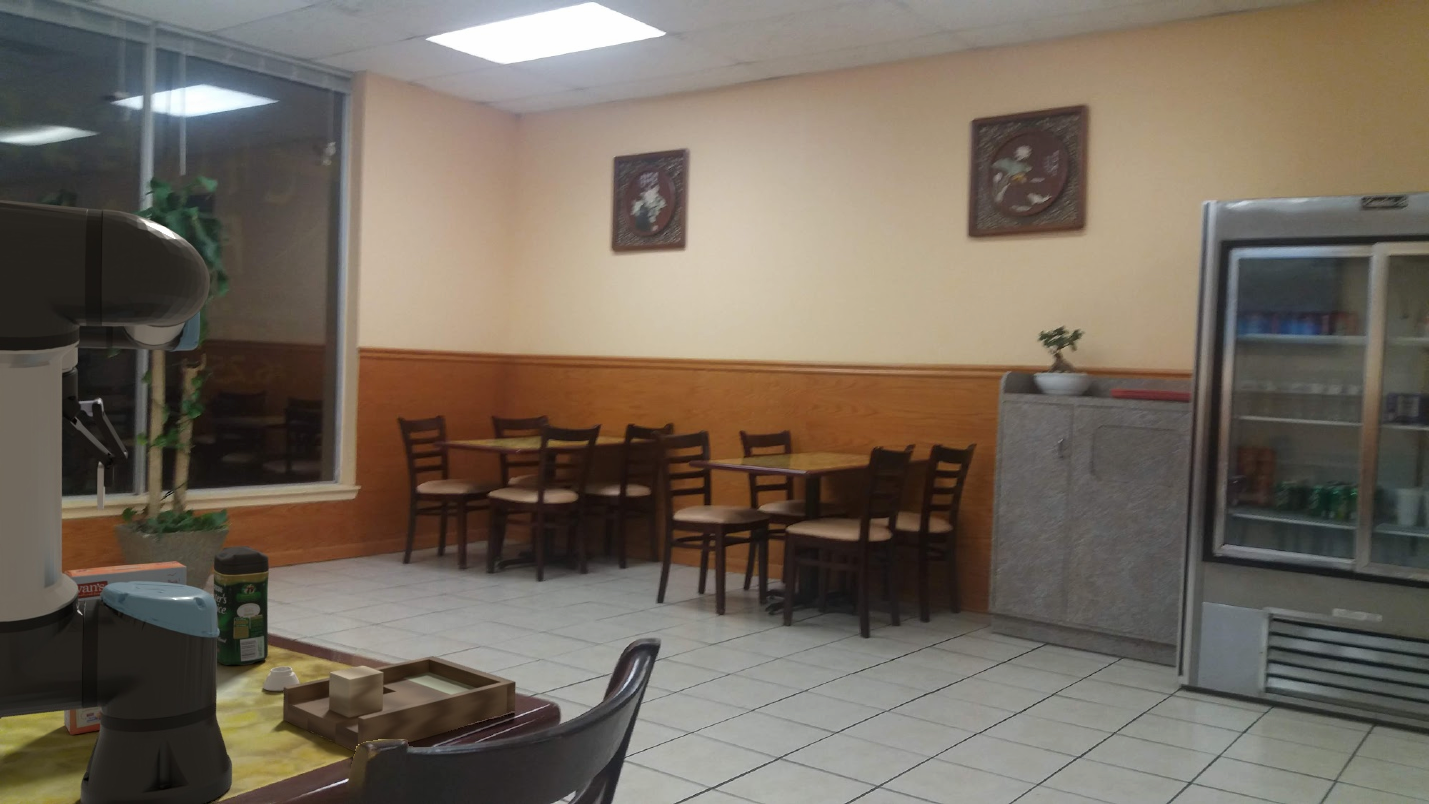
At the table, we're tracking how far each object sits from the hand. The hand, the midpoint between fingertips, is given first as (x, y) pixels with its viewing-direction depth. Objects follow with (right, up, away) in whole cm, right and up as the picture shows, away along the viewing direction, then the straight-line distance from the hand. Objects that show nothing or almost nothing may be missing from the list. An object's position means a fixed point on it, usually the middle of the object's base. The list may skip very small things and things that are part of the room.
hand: (46, 506), depth 155 cm
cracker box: (+17, -28, -10) cm, 34 cm away
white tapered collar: (+31, -28, +7) cm, 43 cm away
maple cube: (+48, -26, -11) cm, 56 cm away
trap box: (+52, -29, -6) cm, 60 cm away
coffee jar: (+18, -28, +23) cm, 40 cm away
